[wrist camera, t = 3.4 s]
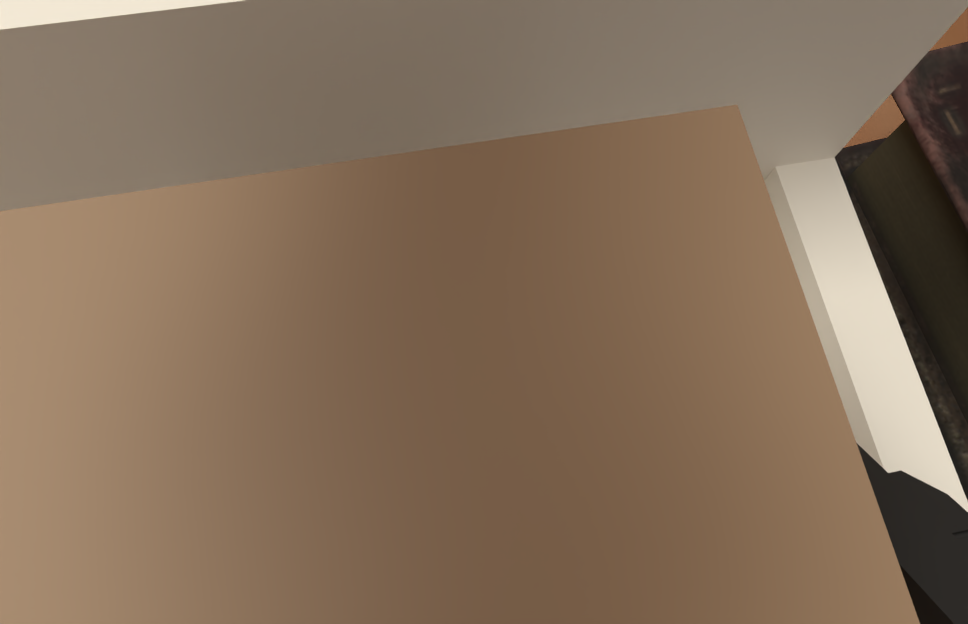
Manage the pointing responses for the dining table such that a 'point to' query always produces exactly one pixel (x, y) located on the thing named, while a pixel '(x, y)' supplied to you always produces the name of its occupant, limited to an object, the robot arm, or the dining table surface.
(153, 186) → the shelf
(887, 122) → the dining table surface
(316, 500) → the block
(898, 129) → the diary
